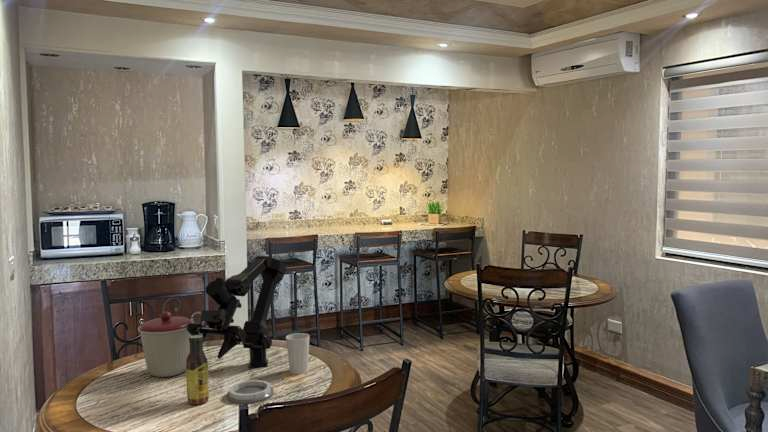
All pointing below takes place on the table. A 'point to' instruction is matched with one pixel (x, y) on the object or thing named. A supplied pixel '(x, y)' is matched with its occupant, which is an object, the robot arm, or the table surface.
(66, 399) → the table surface
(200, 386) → the sauce bottle
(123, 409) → the table surface
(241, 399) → the grey shallow dish
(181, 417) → the table surface
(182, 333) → the canister
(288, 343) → the cup
